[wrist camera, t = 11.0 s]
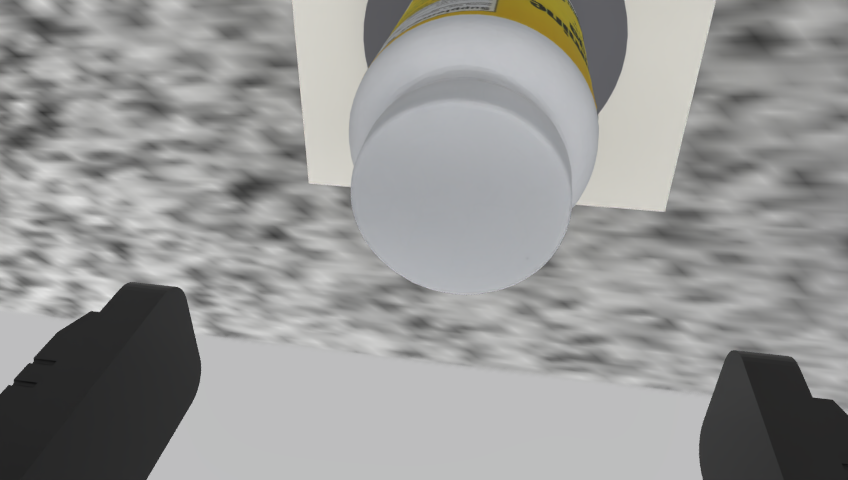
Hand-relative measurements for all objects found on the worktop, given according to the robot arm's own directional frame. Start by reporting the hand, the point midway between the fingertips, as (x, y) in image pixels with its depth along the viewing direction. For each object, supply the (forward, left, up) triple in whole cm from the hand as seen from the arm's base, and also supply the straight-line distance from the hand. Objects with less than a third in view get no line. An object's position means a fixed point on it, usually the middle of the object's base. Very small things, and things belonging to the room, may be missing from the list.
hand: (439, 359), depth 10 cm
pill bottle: (0, 0, -16) cm, 16 cm away
